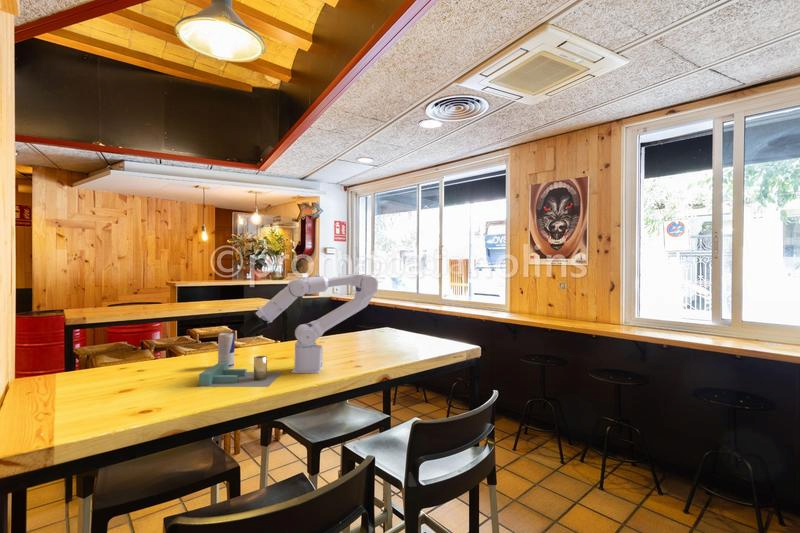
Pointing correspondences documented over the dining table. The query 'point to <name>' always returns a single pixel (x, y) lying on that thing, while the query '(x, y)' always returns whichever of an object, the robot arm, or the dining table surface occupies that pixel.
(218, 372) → the socket dock
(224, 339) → the energy drink
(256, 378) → the brass tube
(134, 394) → the dining table surface
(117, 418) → the dining table surface
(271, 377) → the mat
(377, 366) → the dining table surface
